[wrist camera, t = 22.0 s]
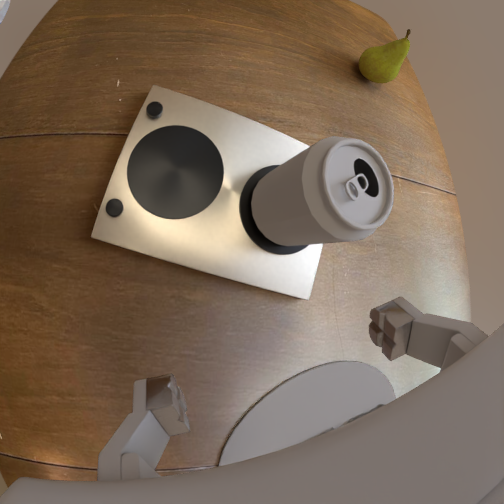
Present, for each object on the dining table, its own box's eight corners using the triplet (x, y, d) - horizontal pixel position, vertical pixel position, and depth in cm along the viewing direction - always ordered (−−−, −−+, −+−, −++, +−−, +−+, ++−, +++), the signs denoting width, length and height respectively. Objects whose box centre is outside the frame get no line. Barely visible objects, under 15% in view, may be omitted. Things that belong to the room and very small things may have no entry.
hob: (93, 238, 25) (88, 236, 23) (152, 91, 27) (153, 80, 24) (302, 299, 32) (313, 301, 30) (333, 164, 34) (344, 159, 31)
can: (328, 221, 31) (415, 205, 20) (275, 261, 29) (355, 263, 18) (291, 159, 30) (367, 114, 18) (232, 194, 27) (293, 153, 16)
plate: (392, 328, 37) (399, 330, 35) (392, 465, 38) (396, 468, 37) (188, 410, 27) (189, 416, 26) (246, 539, 29) (248, 544, 28)
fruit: (385, 89, 38) (440, 57, 27) (362, 91, 36) (421, 54, 25) (368, 58, 37) (419, 23, 26) (344, 59, 35) (396, 17, 24)
